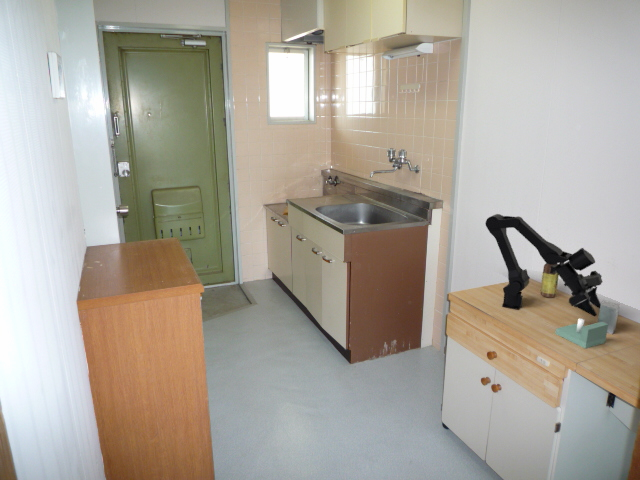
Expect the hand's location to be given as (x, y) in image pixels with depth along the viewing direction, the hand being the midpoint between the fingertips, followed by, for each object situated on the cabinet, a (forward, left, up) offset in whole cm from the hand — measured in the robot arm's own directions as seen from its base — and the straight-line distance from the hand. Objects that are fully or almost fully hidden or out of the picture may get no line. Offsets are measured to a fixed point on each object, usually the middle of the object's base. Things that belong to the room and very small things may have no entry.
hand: (598, 311), depth 173 cm
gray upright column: (+3, -1, -6) cm, 7 cm away
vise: (-5, -13, -6) cm, 15 cm away
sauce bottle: (-18, +25, -6) cm, 32 cm away
